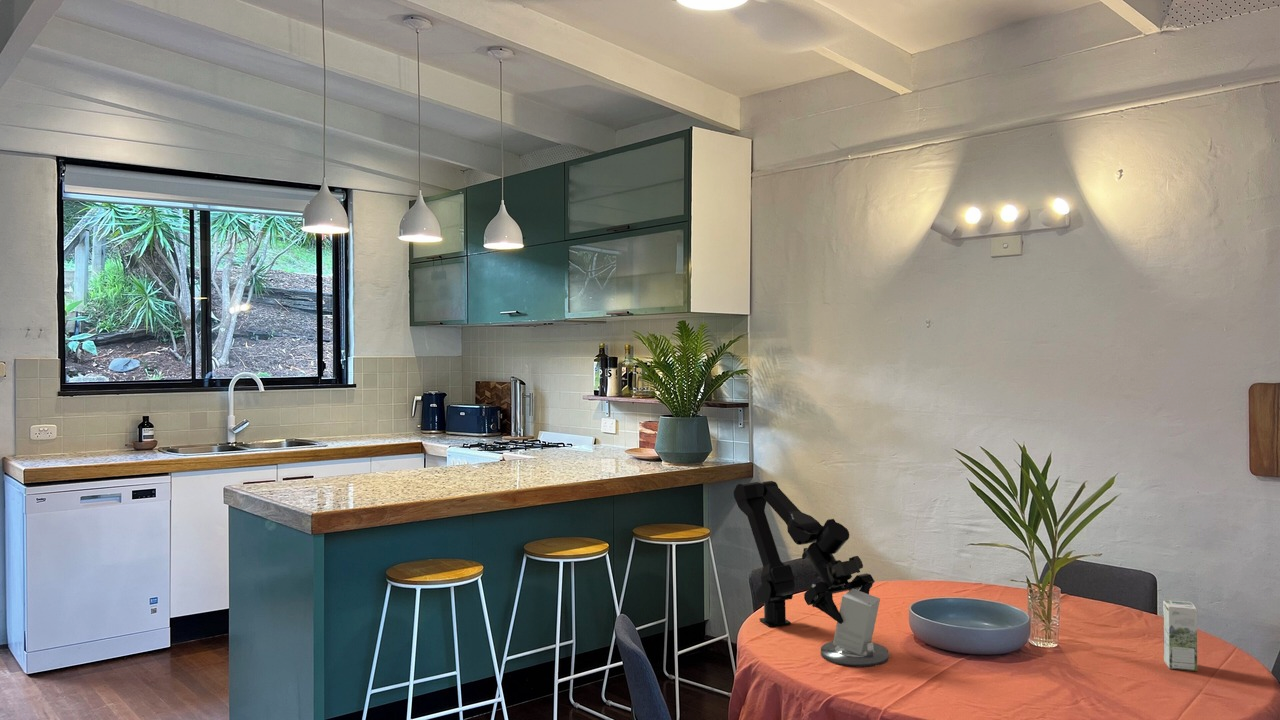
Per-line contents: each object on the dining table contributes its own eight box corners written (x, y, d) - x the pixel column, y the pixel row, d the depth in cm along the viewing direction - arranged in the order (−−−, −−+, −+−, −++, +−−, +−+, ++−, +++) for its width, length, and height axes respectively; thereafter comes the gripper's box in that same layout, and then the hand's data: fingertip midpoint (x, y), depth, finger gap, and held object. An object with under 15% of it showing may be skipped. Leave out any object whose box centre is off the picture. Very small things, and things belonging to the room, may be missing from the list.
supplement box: (871, 646, 219) (881, 598, 217) (860, 656, 213) (871, 606, 211) (842, 635, 223) (852, 587, 221) (831, 644, 216) (841, 595, 215)
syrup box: (1191, 663, 207) (1190, 600, 207) (1198, 672, 202) (1197, 607, 201) (1163, 660, 209) (1162, 598, 209) (1169, 669, 204) (1168, 605, 203)
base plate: (807, 651, 220) (806, 633, 220) (856, 640, 228) (855, 622, 228) (852, 671, 206) (852, 652, 206) (903, 658, 214) (903, 639, 214)
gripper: (811, 551, 216) (843, 608, 207) (868, 541, 225) (902, 595, 216) (790, 576, 223) (820, 632, 214) (847, 565, 232) (879, 619, 223)
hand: (856, 619), depth 216 cm, fingers closed on supplement box, 9 cm apart
